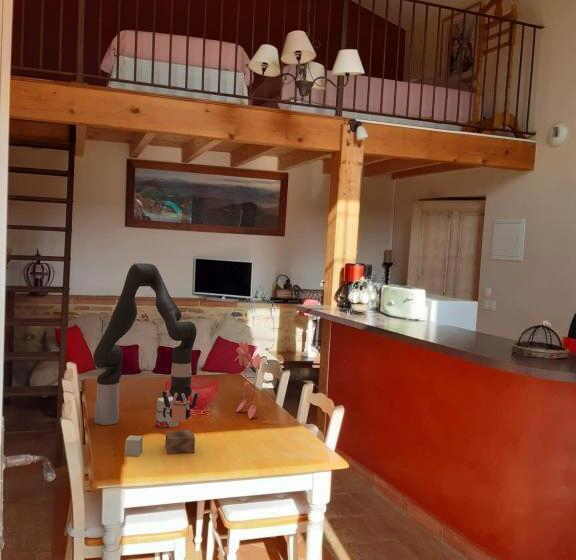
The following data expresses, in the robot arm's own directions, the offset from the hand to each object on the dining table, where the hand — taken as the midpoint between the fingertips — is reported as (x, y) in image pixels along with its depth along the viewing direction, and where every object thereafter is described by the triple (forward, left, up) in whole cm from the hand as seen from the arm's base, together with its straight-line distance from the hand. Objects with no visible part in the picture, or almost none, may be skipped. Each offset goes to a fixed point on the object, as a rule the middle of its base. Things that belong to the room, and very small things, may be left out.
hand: (179, 418), depth 234 cm
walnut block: (0, 0, -12) cm, 12 cm away
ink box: (-11, +28, -12) cm, 32 cm away
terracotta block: (0, 0, -1) cm, 1 cm away
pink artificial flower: (+18, +48, -12) cm, 53 cm away
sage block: (-15, -8, -12) cm, 21 cm away
